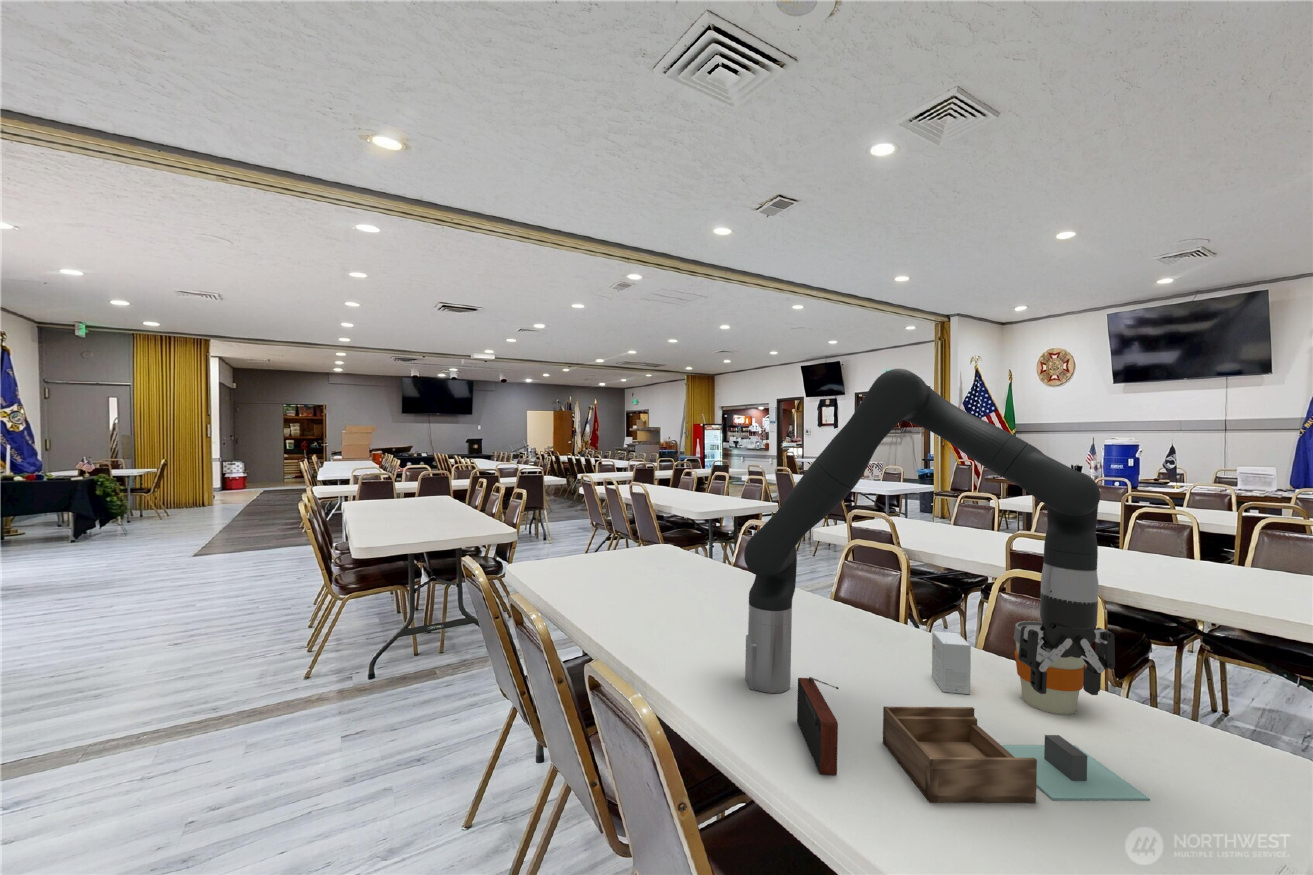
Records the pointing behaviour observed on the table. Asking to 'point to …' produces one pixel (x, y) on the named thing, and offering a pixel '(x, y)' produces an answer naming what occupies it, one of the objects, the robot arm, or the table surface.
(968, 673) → the small box
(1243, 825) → the table surface
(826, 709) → the radio
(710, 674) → the table surface
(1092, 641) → the robot arm
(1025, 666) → the reusable coffee cup
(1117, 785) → the cover plate
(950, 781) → the walnut box
